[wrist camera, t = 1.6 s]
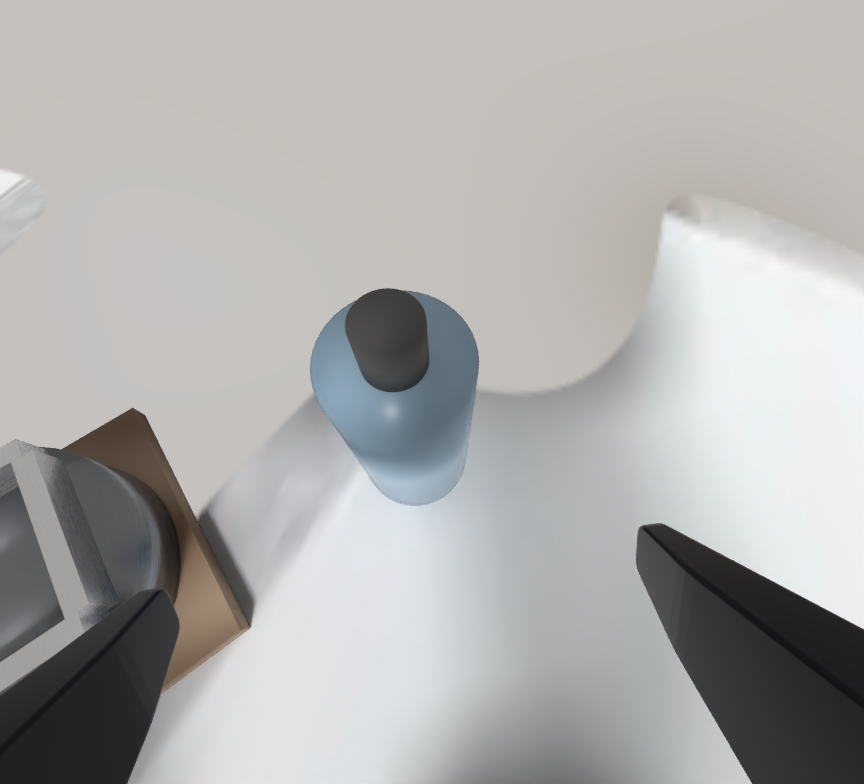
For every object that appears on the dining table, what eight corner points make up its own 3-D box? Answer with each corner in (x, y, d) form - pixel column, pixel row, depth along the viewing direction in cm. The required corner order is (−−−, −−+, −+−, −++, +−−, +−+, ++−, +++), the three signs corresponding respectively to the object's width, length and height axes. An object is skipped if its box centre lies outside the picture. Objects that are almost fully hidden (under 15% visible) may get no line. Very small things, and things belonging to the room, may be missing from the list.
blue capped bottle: (485, 465, 22) (525, 339, 11) (403, 526, 21) (354, 456, 10) (427, 392, 23) (410, 217, 12) (348, 445, 22) (253, 305, 11)
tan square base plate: (250, 628, 19) (180, 642, 14) (-42, 842, 17) (-253, 951, 12) (144, 414, 23) (61, 367, 18) (-103, 561, 21) (-279, 552, 16)
